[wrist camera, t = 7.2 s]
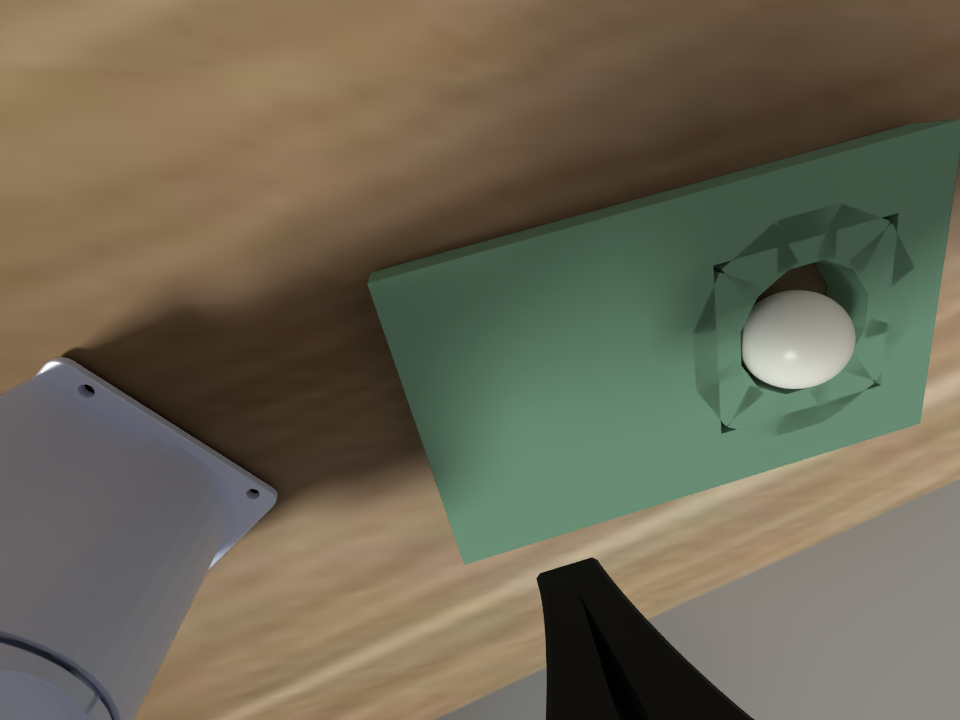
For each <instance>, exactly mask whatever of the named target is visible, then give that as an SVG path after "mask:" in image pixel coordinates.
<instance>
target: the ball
mask: <svg viewBox="0 0 960 720" xmlns="http://www.w3.org/2000/svg"><path fill="white" fill-rule="evenodd" d="M855 340H856V336H855V329H854V326H853V323H852V320H851V319H850V317H849V315H848V314H847V312H846V311H845V310H844V309H843V308H842V307H841V306H840V305H839V304H838V303H837V302H835V301H834V300H832V299H831V298H829V297H827V296H825V295H822V294H819V293H816V292H812V291H805V290H790V291H783V292H779V293H776V294H773V295H770V296H768V297H766V298H764V299H762V300H761V301H759V302H758V303H756V304H755V305H754V306H753V308H752V310H751V312H750V314H749V316H748V318H747V320H746V322H745V324H744V326H743V328H742V331H741V360H742V362H743V364H744V365H745V366H746V368H747V369H748V370H749V371H750V372H751V373H752V374H753V375H754V376H756V377H757V378H758V379H760V380H762V381H764V382H766V383H768V384H770V385H773V386H777V387H781V388H787V389H803V388H809V387H813V386H817V385H819V384H822V383H824V382H826V381H828V380H830V379H832V378H833V377H834V376H836V375H837V374H838V373H839V372H840V371H841V370H842V369H843V368H844V367H845V366H846V365H847V363H848V362H849V360H850V358H851V356H852V354H853V351H854V347H855Z"/></svg>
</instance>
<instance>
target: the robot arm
mask: <svg viewBox="0 0 960 720" xmlns="http://www.w3.org/2000/svg"><path fill="white" fill-rule="evenodd" d="M85 384H87V385H89V386H91V387H92V388H93V389H94V391H95V393H91V392H89V391H88V390H87V389H86V388H85ZM249 489H256V490H258V492H259V493H252V492H251V491H250V490H249ZM277 497H278V494H277V492H276V490H275V489H274V488H273V487H271V486H269V485H268V484H266V483H265V482H263V481H262V480H260V479H258V478H257V477H255V476H254V475H252V474H251V473H249V472H247V471H246V470H244V469H243V468H241V467H240V466H238V465H236V464H235V463H233V462H232V461H230V460H229V459H227V458H225V457H224V456H222V455H221V454H219V453H218V452H216V451H214V450H213V449H211V448H210V447H208V446H207V445H205V444H203V443H202V442H200V441H199V440H197V439H196V438H194V437H192V436H191V435H189V434H188V433H186V432H185V431H183V430H181V429H180V428H178V427H177V426H175V425H174V424H172V423H170V422H169V421H167V420H166V419H164V418H163V417H161V416H159V415H158V414H156V413H155V412H153V411H152V410H150V409H148V408H147V407H145V406H144V405H142V404H141V403H139V402H137V401H136V400H134V399H133V398H131V397H130V396H128V395H126V394H125V393H123V392H122V391H120V390H119V389H117V388H115V387H114V386H112V385H111V384H109V383H108V382H106V381H104V380H103V379H101V378H100V377H98V376H97V375H95V374H93V373H92V372H90V371H89V370H87V369H86V368H84V367H82V366H81V365H79V364H78V363H76V362H75V361H73V360H71V359H68V358H64V357H59V358H55V359H53V360H51V361H49V362H48V363H46V364H45V365H44V366H43V367H42V369H41V370H40V371H39V372H38V373H37V375H36V376H35V377H33V378H31V379H29V380H28V381H26V382H24V383H22V384H20V385H18V386H17V387H15V388H13V389H11V390H9V391H7V392H5V393H4V394H2V395H0V720H134V719H135V717H136V715H137V712H138V710H139V708H140V706H141V704H142V702H143V700H144V698H145V696H146V694H147V692H148V690H149V688H150V686H151V684H152V682H153V680H154V678H155V676H156V674H157V672H158V670H159V668H160V666H161V664H162V662H163V660H164V658H165V656H166V654H167V652H168V650H169V648H170V646H171V644H172V642H173V640H174V638H175V636H176V634H177V632H178V630H179V628H180V626H181V624H182V622H183V620H184V618H185V616H186V614H187V612H188V610H189V607H190V605H191V603H192V601H193V599H194V597H195V595H196V593H197V591H198V589H199V587H200V585H201V583H202V581H203V579H204V577H205V575H206V573H207V571H208V570H209V569H210V568H211V567H212V566H213V565H214V564H215V563H216V562H217V561H218V560H219V559H220V558H221V557H222V556H223V555H224V554H225V553H226V552H227V551H228V550H229V549H230V548H231V547H232V546H233V545H234V544H235V543H236V542H237V541H238V540H239V539H241V538H242V537H243V536H244V535H245V534H246V533H247V532H248V531H249V530H250V529H251V528H252V527H253V526H254V525H255V524H256V523H257V522H258V521H259V520H260V519H261V518H262V517H263V516H264V515H265V514H266V513H267V512H268V511H269V510H270V509H271V508H272V507H273V506H274V504H275V503H276V500H277ZM536 579H537V582H538V586H539V590H540V594H541V600H542V606H543V614H544V624H545V636H546V663H547V699H546V700H547V701H546V720H754V719H753V718H751V717H750V716H749V715H748V714H747V713H745V712H744V711H743V710H742V709H741V708H739V707H738V706H737V705H736V704H735V703H734V702H732V701H731V700H730V699H729V698H728V697H727V696H725V695H724V694H723V693H722V692H721V691H720V690H718V688H717V687H715V686H714V685H713V684H712V683H711V682H710V681H709V680H708V679H707V678H705V677H704V676H703V675H702V674H701V673H700V672H699V671H698V670H697V669H696V668H695V667H694V666H693V665H692V664H690V663H689V662H688V661H687V660H686V659H685V658H684V657H683V656H682V655H681V654H680V653H679V652H678V651H677V650H676V649H675V648H674V647H673V646H672V645H671V644H670V643H669V642H668V641H667V640H666V639H665V638H664V637H663V636H662V635H661V634H660V633H659V632H658V631H657V630H656V629H655V628H654V627H653V625H651V623H650V622H649V621H648V620H647V619H646V618H645V617H644V616H643V615H642V614H641V613H640V612H639V611H638V610H637V608H636V607H635V606H634V605H633V604H632V603H631V602H630V600H629V599H628V598H627V597H626V596H625V595H624V594H623V592H622V591H621V590H620V589H619V588H618V586H617V585H616V584H615V583H614V582H613V580H612V579H611V578H610V577H609V575H608V574H607V573H606V571H605V570H604V569H603V567H602V566H601V565H600V563H599V562H598V560H596V559H594V558H589V559H586V560H582V561H579V562H576V563H572V564H569V565H566V566H563V567H559V568H556V569H553V570H549V571H546V572H543V573H540V574H539V576H538V577H537V578H536Z"/></svg>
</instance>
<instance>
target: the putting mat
mask: <svg viewBox="0 0 960 720" xmlns="http://www.w3.org/2000/svg"><path fill="white" fill-rule="evenodd" d="M959 155H960V119H954V120H944V121H934V122H925V123H915V124H908V125H904V126H901V127H897V128H893V129H890V130H886V131H883V132H879V133H875V134H872V135H868V136H864V137H861V138H857V139H854V140H850V141H846V142H843V143H839V144H835V145H832V146H828V147H824V148H821V149H817V150H814V151H810V152H806V153H803V154H799V155H795V156H792V157H788V158H784V159H781V160H777V161H774V162H770V163H766V164H763V165H759V166H755V167H752V168H748V169H745V170H741V171H737V172H734V173H730V174H726V175H723V176H719V177H715V178H712V179H708V180H705V181H701V182H697V183H694V184H690V185H686V186H683V187H679V188H676V189H672V190H668V191H665V192H661V193H657V194H654V195H650V196H646V197H643V198H639V199H636V200H632V201H628V202H625V203H621V204H617V205H614V206H610V207H607V208H603V209H599V210H596V211H592V212H588V213H585V214H581V215H577V216H574V217H570V218H567V219H563V220H559V221H556V222H552V223H548V224H545V225H541V226H537V227H534V228H530V229H527V230H523V231H519V232H516V233H512V234H508V235H505V236H501V237H498V238H494V239H490V240H487V241H483V242H479V243H476V244H472V245H468V246H465V247H461V248H458V249H454V250H450V251H447V252H443V253H439V254H436V255H432V256H429V257H425V258H421V259H418V260H414V261H410V262H407V263H403V264H399V265H396V266H392V267H389V268H385V269H381V270H378V271H374V272H371V274H370V277H369V279H368V282H367V285H368V288H369V290H370V293H371V296H372V299H373V302H374V305H375V308H376V311H377V314H378V316H379V319H380V322H381V325H382V328H383V331H384V334H385V337H386V340H387V343H388V345H389V348H390V351H391V354H392V357H393V360H394V363H395V366H396V369H397V371H398V374H399V377H400V380H401V383H402V386H403V389H404V392H405V395H406V398H407V400H408V403H409V406H410V409H411V412H412V415H413V418H414V421H415V424H416V426H417V429H418V432H419V435H420V438H421V441H422V444H423V447H424V450H425V453H426V455H427V458H428V461H429V464H430V467H431V470H432V473H433V476H434V479H435V481H436V484H437V487H438V490H439V493H440V496H441V499H442V502H443V505H444V508H445V510H446V513H447V516H448V519H449V522H450V525H451V528H452V531H453V534H454V536H455V539H456V542H457V545H458V548H459V551H460V554H461V557H462V560H463V563H464V565H465V564H468V563H472V562H475V561H478V560H481V559H484V558H488V557H491V556H494V555H497V554H501V553H504V552H507V551H510V550H513V549H517V548H520V547H523V546H526V545H530V544H533V543H536V542H539V541H543V540H546V539H549V538H552V537H555V536H559V535H562V534H565V533H568V532H572V531H575V530H578V529H581V528H584V527H588V526H591V525H594V524H597V523H601V522H604V521H607V520H610V519H613V518H617V517H620V516H623V515H626V514H630V513H633V512H636V511H639V510H643V509H646V508H649V507H652V506H655V505H659V504H662V503H665V502H668V501H672V500H675V499H678V498H681V497H684V496H688V495H691V494H694V493H697V492H701V491H704V490H707V489H710V488H714V487H717V486H720V485H723V484H726V483H730V482H733V481H736V480H739V479H743V478H746V477H749V476H752V475H755V474H759V473H762V472H765V471H768V470H772V469H775V468H778V467H781V466H784V465H788V464H791V463H794V462H797V461H801V460H804V459H807V458H810V457H814V456H817V455H820V454H823V453H826V452H830V451H833V450H836V449H839V448H843V447H846V446H849V445H852V444H855V443H859V442H862V441H865V440H868V439H872V438H875V437H878V436H881V435H885V434H888V433H891V432H894V431H897V430H901V429H904V428H907V427H910V426H914V425H917V424H920V420H921V413H922V406H923V399H924V393H925V386H926V379H927V372H928V365H929V359H930V352H931V345H932V338H933V332H934V325H935V318H936V311H937V304H938V298H939V291H940V284H941V277H942V271H943V264H944V257H945V250H946V244H947V237H948V230H949V223H950V216H951V210H952V203H953V196H954V189H955V183H956V176H957V169H958V162H959ZM811 263H814V264H815V266H816V267H817V269H818V271H819V272H820V274H821V276H822V277H823V279H824V281H825V282H826V284H827V294H826V296H827V297H829V298H831V299H832V300H834V301H835V302H837V303H838V304H839V305H840V306H841V307H842V308H843V309H844V310H845V311H846V312H847V314H848V315H849V317H850V319H851V320H852V323H853V326H854V329H855V336H856V340H855V347H854V351H853V354H852V356H851V358H850V360H849V362H848V363H847V365H846V366H845V367H844V368H843V369H842V370H841V371H840V372H839V373H838V374H837V375H836V376H834V377H833V378H832V379H830V380H828V381H826V382H824V383H822V384H819V385H817V386H813V387H809V388H803V389H787V388H781V387H777V386H773V385H770V384H768V383H766V382H764V381H762V380H760V379H758V378H757V377H756V376H752V375H748V374H747V372H746V371H745V370H744V368H743V367H742V366H741V331H742V328H743V326H744V324H745V322H746V320H747V318H748V316H749V314H750V312H751V310H752V308H753V306H754V304H755V301H756V299H757V297H758V296H759V295H761V294H762V293H763V292H764V291H765V290H766V289H767V288H769V287H770V286H771V285H772V284H773V283H774V282H775V281H777V280H778V279H779V278H780V277H781V276H782V275H783V274H784V273H786V272H787V271H788V270H790V269H793V268H797V267H800V266H804V265H807V264H811Z"/></svg>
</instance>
